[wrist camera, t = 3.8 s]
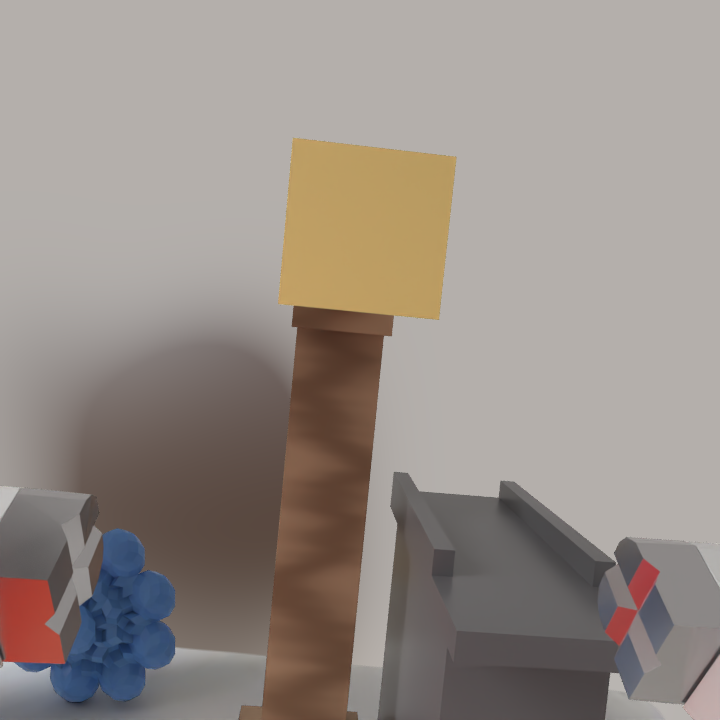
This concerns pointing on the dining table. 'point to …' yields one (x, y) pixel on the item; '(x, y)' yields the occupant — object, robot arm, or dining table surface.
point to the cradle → (492, 611)
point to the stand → (322, 514)
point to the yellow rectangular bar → (366, 229)
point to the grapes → (117, 627)
